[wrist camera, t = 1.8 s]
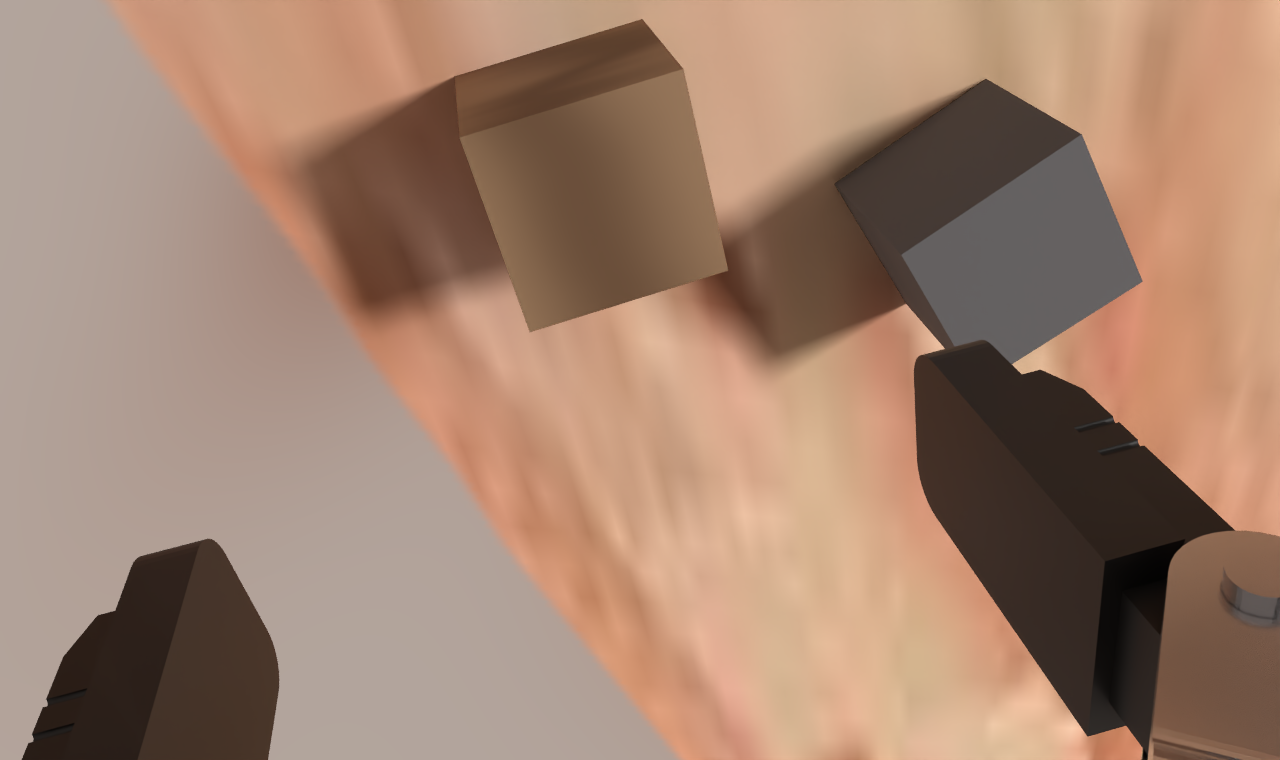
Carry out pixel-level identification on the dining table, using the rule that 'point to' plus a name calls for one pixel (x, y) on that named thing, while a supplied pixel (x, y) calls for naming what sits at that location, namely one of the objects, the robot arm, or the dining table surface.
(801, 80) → the dining table surface
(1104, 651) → the robot arm
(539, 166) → the walnut cube
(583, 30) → the dining table surface
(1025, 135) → the charcoal block
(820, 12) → the dining table surface
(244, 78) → the dining table surface
